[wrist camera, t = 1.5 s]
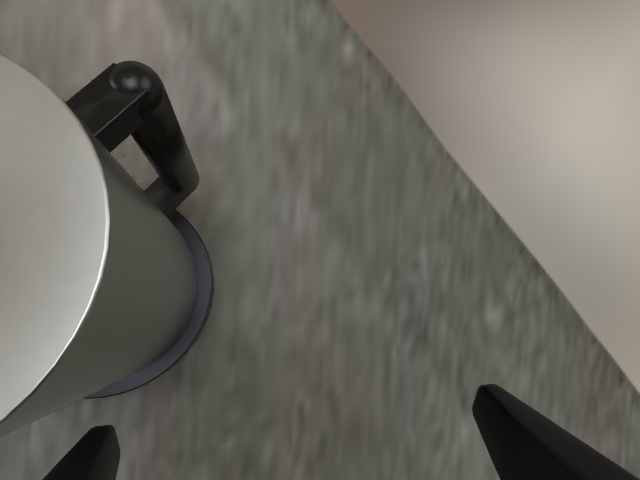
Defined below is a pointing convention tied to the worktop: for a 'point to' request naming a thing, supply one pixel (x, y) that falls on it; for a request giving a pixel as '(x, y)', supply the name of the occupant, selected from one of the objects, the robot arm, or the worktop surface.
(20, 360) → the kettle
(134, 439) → the worktop surface
